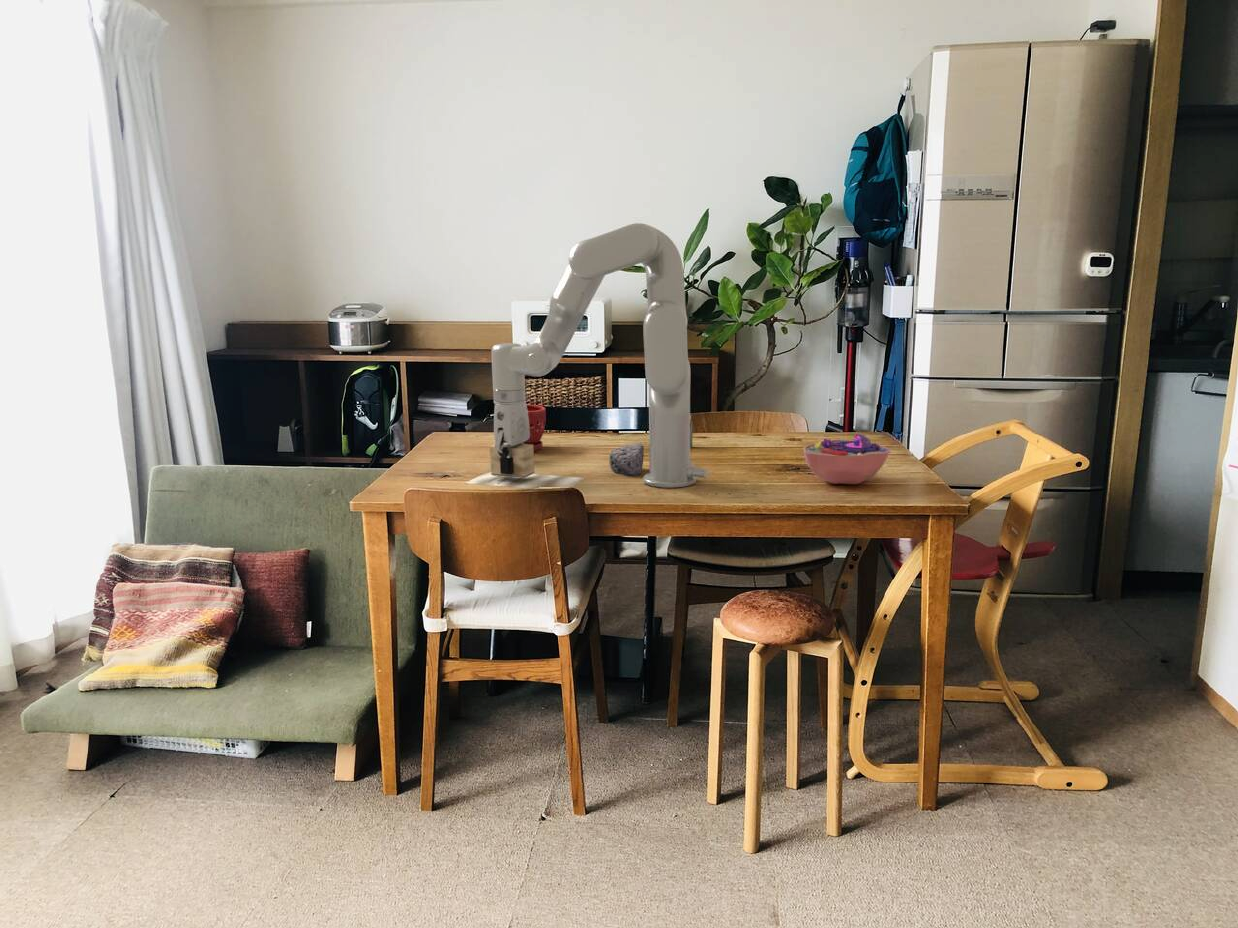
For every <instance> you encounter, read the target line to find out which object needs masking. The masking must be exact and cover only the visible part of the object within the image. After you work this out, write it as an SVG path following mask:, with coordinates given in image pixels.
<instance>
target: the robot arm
mask: <svg viewBox="0 0 1238 928" xmlns="http://www.w3.org/2000/svg"><path fill="white" fill-rule="evenodd" d="M568 255H569V256H568V264H567V265H566V269H565V270H564V272H563V274H562V276H561V277H560V280H559V282H558V283H557V285H556V287H555V289H554V291H553V293H552V295H551V297H550V301H549V310H548V313H547V316H546V319H545V321H544V324H543V326H542V328H541V329H540V332H539V333H538V335H537V338H536V339H535V341H534V342H533V343H532V344H528V345H521V344H520V343H514V342H507V343H506V342H505V343H498V344H497V343H496V344H495V345H493V346H492V348H491V351H490V352H491V353H490V354H491V375H492V393H493V395H492V396H493V404H494V410H493V412H494V413H493V414H494V415H493V435H494V445H495V449H496V450H497V452H498V454H499V458H500V470H501V474H513V473H514V471H513V458H511V453H512V446H516V445H518V444H525V443H526V442H525V441H527V440H528V439H529V437H530V429H529V418H528V410H527V405H528V404H527V401H526V380H525V379H526V378H525V377H526V376H528V377H542V376H543V377H544V376H545V375H547V374H549V373H550V372H551V371H553V370H554V369H555V368H556V367H557V366H558V364H559V363H560V361H561V360H562V357H563V356H564V354H565V352H566V351H567V349H568V347H569V345H570V343H571V341H572V338H573V337H574V335H575V332H576V331H577V329H578V326H579V325H580V323H581V322H582V321H583V318H584V316H585V314H586V312H587V310H588V308H589V306H590V304H591V302H592V300H593V298H594V296H595V295H596V293H597V291H598V289H599V287H600V286H601V284H602V281H603V280H604V279H605V276H606V275H609V274H612V273H615V272H619V271H622V270H624V269H627V268H630V267H632V266H633V267H634V266H636V265H639V264H642V265H643V267H644V269H645V278H646V279H645V281H646V282H645V283H646V293H647V296H646V299H647V312H646V313H645V316H644V319H643V324H642V325H643V329H642V330H643V348H644V349H643V350H644V370H645V379H646V382H647V384H648V424H649V425H648V432H649V434H648V435H649V436H648V437H649V439H648V440H649V441H648V443H649V446H648V447H649V454H648V456H649V472H648V473H646V474H644V475H643V477H642V482H643V483H644V485H645V484H646V485H647V486H651V487H655V488H656V487H657V488H673V489H674V488H682V487H689V486H692V485H695V483H697V478H699V479H700V478H702V479H706V478H707V476H708V471H707V469H705V467H695V466H694V461H691V457H690V456H691V455H690V454H691V453H690V451H691V449H690V422H691V420H690V415H691V364H690V361H689V357H688V356H689V353H688V329H687V328H688V316H687V311H686V309H687V308H686V294H685V293H686V292H685V290H686V289H685V280H684V279H685V278H684V267H683V262H682V258H681V254H680V252H679V249H678V248H677V246H676V244H675V242H674V241H673V240H672V239H671V238H670V237H669V236H668V235H667V234H665V233H664V232H663V231H661V230H659V229H657V228H656V227H654V226H651V225H649V224H646V223H638V222H637V223H636V222H635V223H631V224H627V225H624V226H622V227H620V228H617V229H615V230H612V231H608V232H606V233H603V234H600V235H597V236H594V237H592V238H588V239H584V240H581V241H579V242H577V243H576V244H575V245H574V246H573V247H572V248H571V249H570V252H569V254H568ZM506 442H507V444H509V445H506V444H504V443H506ZM504 447H508V450H506V449H505V448H504Z"/></svg>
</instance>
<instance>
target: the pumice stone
mask: <svg viewBox="0 0 1238 928" xmlns="http://www.w3.org/2000/svg"><path fill="white" fill-rule="evenodd" d="M644 447H645V446H644V445H643V444H641V443H634V444H630V445H622V446H620V447H618V448H615V449H613V450H611V451H610V453H609V467H610V469H611V470H612V472H614V473H615V474H621V475H626V476H632V477H637V476H640V475H641V473H642V470H643V464H644V455H645V454H644Z"/></svg>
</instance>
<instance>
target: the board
mask: <svg viewBox="0 0 1238 928" xmlns="http://www.w3.org/2000/svg"><path fill="white" fill-rule="evenodd" d="M584 480H587V477H579V476H578V477H577V476H576V477H575V476H574V477H573V476H566V475H565V476H564V475H563V476H562V475H550V474H540V473H539V474H538V473H533V474H531V475H530V476H528V477H526V478H521V477H509V476H496V475H491V470H490V471H487V472H485V473H483V474H481V475H479V476H477V477H474V478H473V479H470V480H468V481H465V482H464V484H466V485H469V484H470V485H471V484H472V485H482V486H483V485H484V486H491V487H493V486H495V487H505V488H507V487H508V488H516V489H527V488H539V487H571V488H572V487H574V486H576V485H577V484H580V483H581V482H582V481H584Z"/></svg>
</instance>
